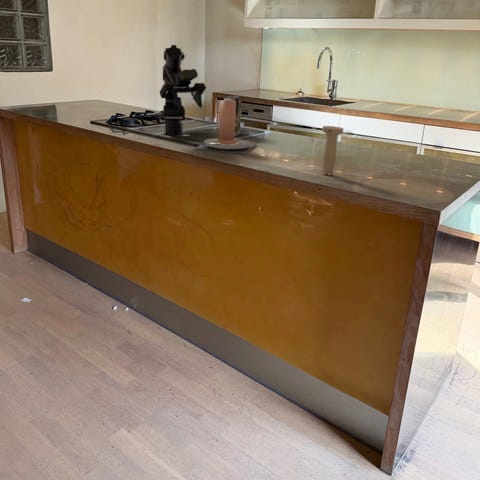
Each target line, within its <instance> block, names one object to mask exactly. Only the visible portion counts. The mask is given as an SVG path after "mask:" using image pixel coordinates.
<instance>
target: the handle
mask: <svg viewBox="0 0 480 480" xmlns="http://www.w3.org/2000/svg"><path fill="white" fill-rule="evenodd" d="M321 130H322V132H323V133H324V134H326V135H325V136H326V139H325V144H324V149H323V154H322V155H323V156H322V170H321V171H322V173H325V174H332V173H333V174H334V169H335V166H336V159H337V158H336V157H337V145H338V136H339V135H341V134H343V132H344V128H343V127H339V126H332V125H331V126H330V125H323V126H322V129H321ZM333 174H332V175H333Z"/></svg>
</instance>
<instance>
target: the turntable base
mask: <svg viewBox="0 0 480 480" xmlns="http://www.w3.org/2000/svg"><path fill="white" fill-rule="evenodd" d="M249 143H250V142H249ZM256 146H257V143H250V147H249V148H247V149H241V150H221V149H214V148H209V147H206V146H205V145H202V144H201V145H198V146H196V147H195V148H194V149H195V150H196V151H198V150H199V151H207V152H216V153H223V154H225V153H226V154H232V155H233V154H236V155H244V156H245V154H247V153H248V152H250V151H251V150H253V148H255V147H256Z"/></svg>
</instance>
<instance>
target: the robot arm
mask: <svg viewBox="0 0 480 480" xmlns="http://www.w3.org/2000/svg"><path fill="white" fill-rule="evenodd" d="M184 59H185V54H184V52H183V51H182V48H179V47H178V46H177V44H171V45H170V47H165V50H163V61H165V63H164V65H163V67H162V82H163V84H162V86H161V89H160V90H159V95H160V98H162V99H165V101H164V105H163V121H165V123H164V124H165V127H164V129H165V131H164V132H163V135H166V134H170V135H169V136H176V135H178V136H180V134H181V135H183V134H184V132H183V125H184V124H183V123H182V122H184V121H185V120H186V109H185V108H184V105H183V103H182V98H181V97H180V96H178V94H187V93H188V94H191V96H192V99H193V101H194V102H195V103H196V105H197V106H198V107H199V108H200V109H201V108H203V107H202V106H203V104H202V103H203V102H202V95H203V94H204V92H205V91H206V89H207V86H206V85H205V83H204V82H195V83H194V84H193V86H190V85H191V83H192V80H195V79H196V78H198V75H199V74H198V71H197V70H196V69H195V68H191V69H183V70H182V67H181V65H182V61H184Z"/></svg>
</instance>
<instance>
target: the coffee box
mask: <svg viewBox="0 0 480 480" xmlns="http://www.w3.org/2000/svg"><path fill="white" fill-rule="evenodd" d="M242 98H243V97H242V96H238V95H237V96H235V95H228V96H225V97H223V100H224V99H230V100H232V101H236V115H235V137H237V136H238V135H239V134H241V123H242V122H241V121H242V102H243V99H242ZM236 135H237V136H236Z"/></svg>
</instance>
